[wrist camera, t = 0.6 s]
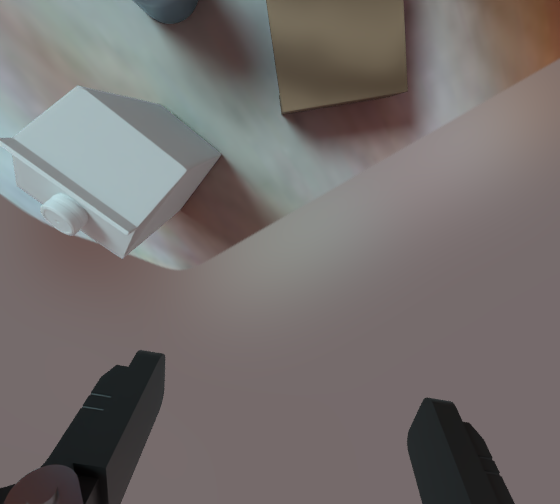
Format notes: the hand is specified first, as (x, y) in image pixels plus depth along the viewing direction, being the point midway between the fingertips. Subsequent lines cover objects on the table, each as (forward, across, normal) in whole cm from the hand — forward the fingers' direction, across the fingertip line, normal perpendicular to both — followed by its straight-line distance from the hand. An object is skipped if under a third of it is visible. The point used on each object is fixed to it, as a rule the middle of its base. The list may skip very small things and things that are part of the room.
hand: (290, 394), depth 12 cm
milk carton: (+27, +12, +1) cm, 30 cm away
